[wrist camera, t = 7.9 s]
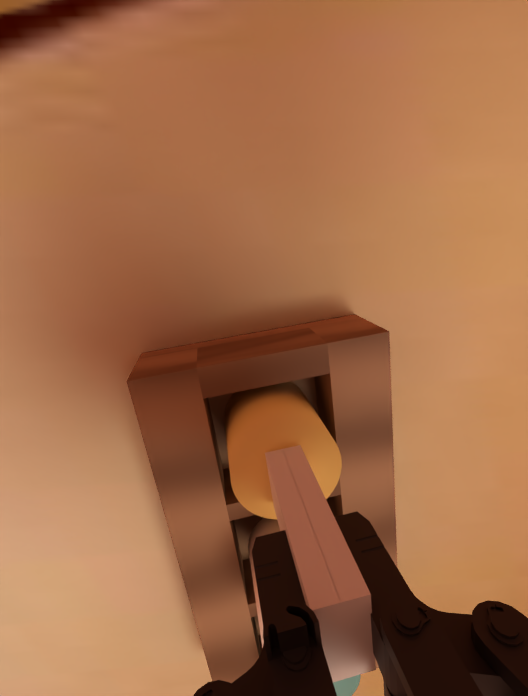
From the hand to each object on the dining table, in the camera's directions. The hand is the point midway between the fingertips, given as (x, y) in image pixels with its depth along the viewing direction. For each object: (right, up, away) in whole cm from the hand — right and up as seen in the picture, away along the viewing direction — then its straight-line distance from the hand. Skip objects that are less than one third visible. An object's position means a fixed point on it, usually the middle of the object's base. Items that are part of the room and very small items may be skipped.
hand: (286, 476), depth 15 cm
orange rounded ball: (-1, +2, +5) cm, 5 cm away
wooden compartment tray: (0, -5, +9) cm, 10 cm away
